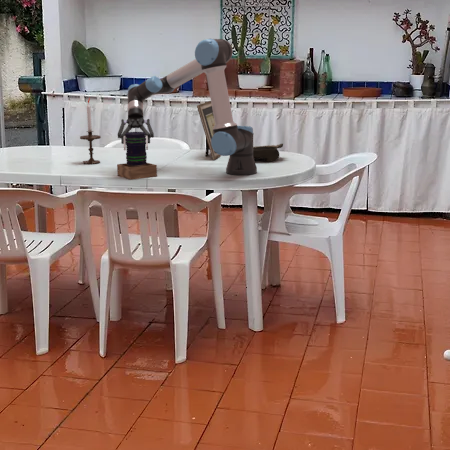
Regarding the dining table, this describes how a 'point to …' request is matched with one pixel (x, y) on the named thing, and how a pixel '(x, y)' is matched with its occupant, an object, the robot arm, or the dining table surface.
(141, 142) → the storage jar
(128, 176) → the wooden box
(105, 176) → the dining table surface
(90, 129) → the candlestick
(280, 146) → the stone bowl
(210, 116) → the picture frame
